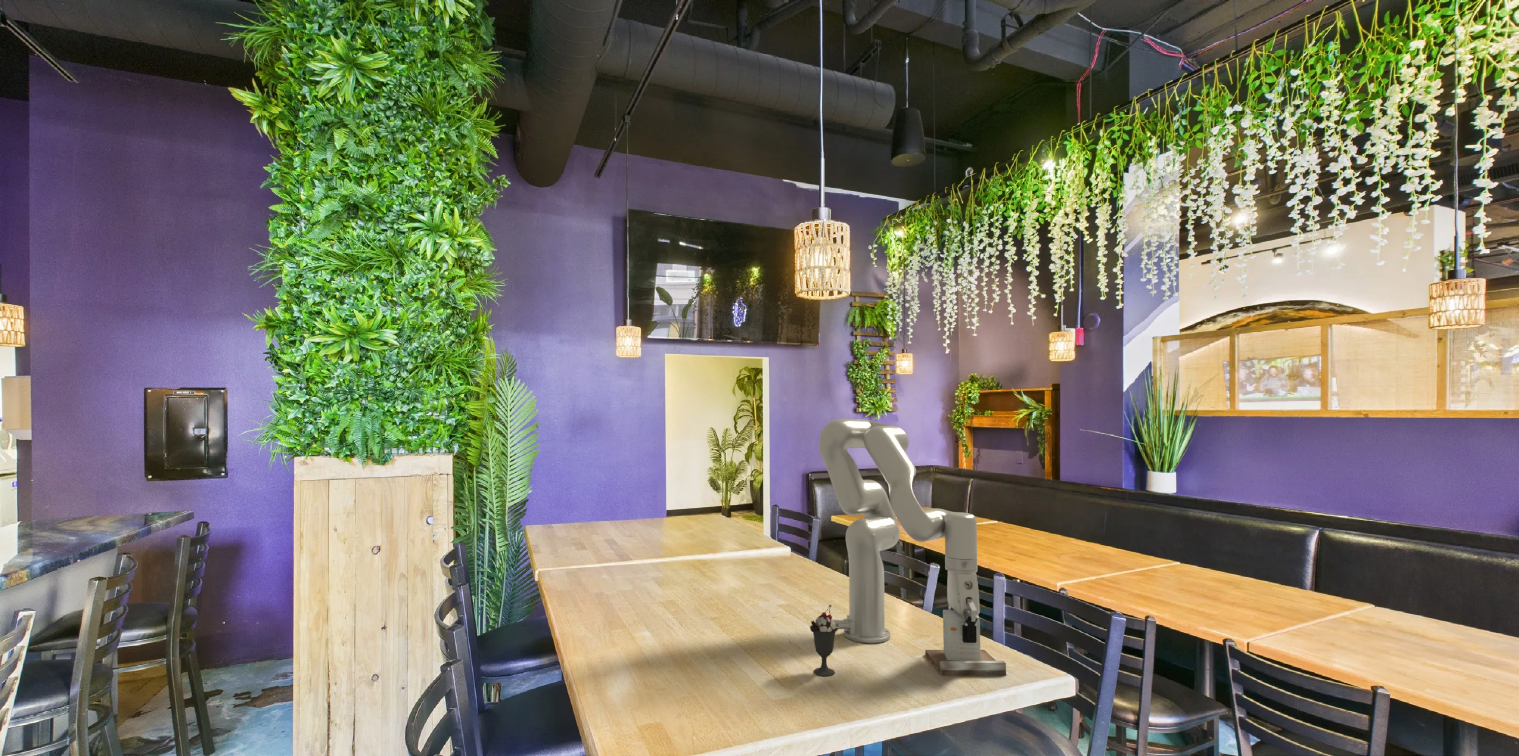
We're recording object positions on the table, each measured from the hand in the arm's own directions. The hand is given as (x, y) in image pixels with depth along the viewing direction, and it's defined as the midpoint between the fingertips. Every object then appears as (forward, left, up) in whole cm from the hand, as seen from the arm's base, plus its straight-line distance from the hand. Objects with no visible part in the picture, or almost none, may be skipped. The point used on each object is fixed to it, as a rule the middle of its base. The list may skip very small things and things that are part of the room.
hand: (962, 635), depth 152 cm
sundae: (-34, -6, -7) cm, 36 cm away
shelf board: (0, -1, -6) cm, 7 cm away
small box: (0, 0, -6) cm, 6 cm away
